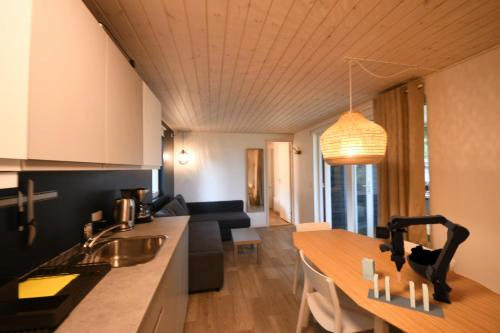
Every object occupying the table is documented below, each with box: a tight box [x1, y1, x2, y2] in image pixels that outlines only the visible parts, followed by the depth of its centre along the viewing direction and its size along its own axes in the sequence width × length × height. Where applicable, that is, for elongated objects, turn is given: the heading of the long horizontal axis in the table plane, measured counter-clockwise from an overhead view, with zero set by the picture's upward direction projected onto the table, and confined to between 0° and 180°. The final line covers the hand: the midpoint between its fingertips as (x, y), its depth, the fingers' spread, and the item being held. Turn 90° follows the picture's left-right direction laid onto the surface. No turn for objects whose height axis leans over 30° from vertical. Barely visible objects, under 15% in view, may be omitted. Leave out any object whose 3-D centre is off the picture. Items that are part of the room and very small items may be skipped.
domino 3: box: [396, 270, 402, 285], centre depth 114 cm, size 5×2×10 cm, turn 145°
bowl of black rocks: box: [405, 244, 451, 279], centre depth 129 cm, size 20×20×19 cm
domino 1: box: [373, 273, 380, 298], centre depth 112 cm, size 5×2×10 cm, turn 146°
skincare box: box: [361, 257, 376, 283], centre depth 128 cm, size 6×4×12 cm
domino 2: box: [384, 275, 391, 301], centre depth 110 cm, size 5×2×10 cm, turn 146°
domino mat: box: [366, 288, 446, 320], centre depth 106 cm, size 10×30×1 cm, turn 56°
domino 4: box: [409, 280, 416, 308], centre depth 104 cm, size 5×2×10 cm, turn 146°
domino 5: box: [422, 283, 430, 311], centre depth 101 cm, size 5×2×10 cm, turn 146°
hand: (398, 269), depth 114 cm, fingers closed on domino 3, 5 cm apart
